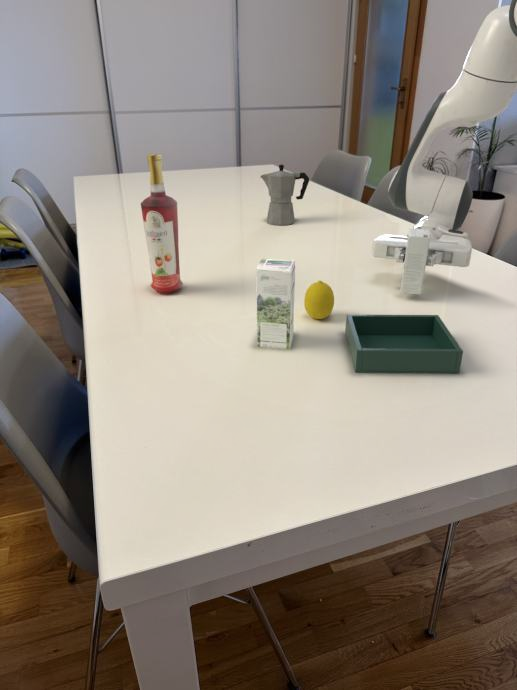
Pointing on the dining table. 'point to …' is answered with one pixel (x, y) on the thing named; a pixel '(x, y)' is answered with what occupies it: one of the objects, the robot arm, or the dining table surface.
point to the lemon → (319, 300)
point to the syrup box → (275, 303)
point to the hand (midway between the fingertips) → (414, 260)
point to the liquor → (161, 232)
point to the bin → (402, 344)
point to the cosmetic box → (415, 261)
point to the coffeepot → (282, 195)
